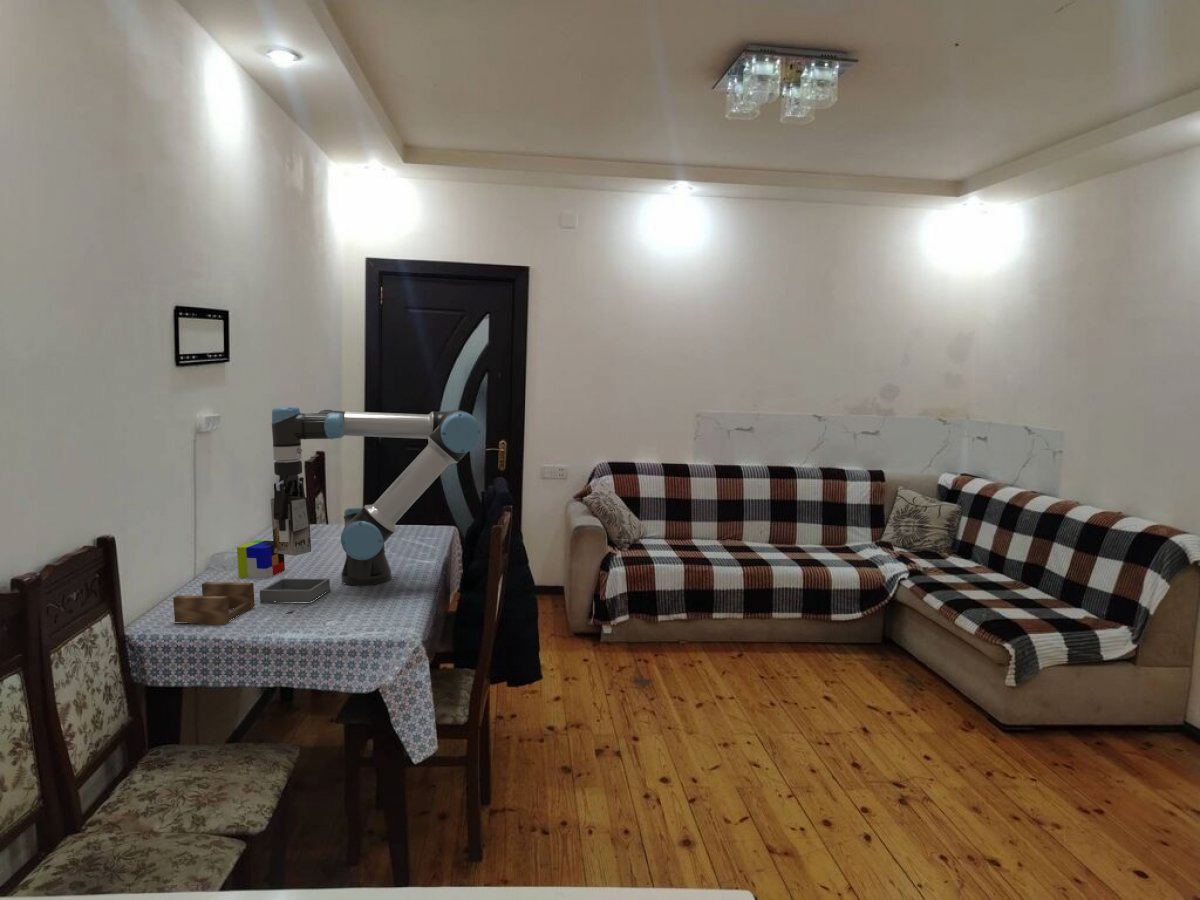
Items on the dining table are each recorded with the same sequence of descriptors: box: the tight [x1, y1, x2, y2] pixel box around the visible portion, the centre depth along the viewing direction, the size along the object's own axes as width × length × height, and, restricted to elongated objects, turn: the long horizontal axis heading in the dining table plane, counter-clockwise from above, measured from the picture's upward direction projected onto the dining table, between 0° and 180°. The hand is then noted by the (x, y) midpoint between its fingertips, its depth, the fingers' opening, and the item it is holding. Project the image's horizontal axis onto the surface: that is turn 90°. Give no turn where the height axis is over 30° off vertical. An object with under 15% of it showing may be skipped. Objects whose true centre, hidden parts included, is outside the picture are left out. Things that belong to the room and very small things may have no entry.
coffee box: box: [270, 496, 312, 557], centre depth 235 cm, size 9×6×16 cm
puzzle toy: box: [236, 539, 286, 580], centre depth 263 cm, size 10×10×10 cm
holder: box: [172, 581, 256, 625], centre depth 220 cm, size 14×15×7 cm
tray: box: [259, 577, 331, 603], centre depth 237 cm, size 15×13×4 cm
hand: (291, 538), depth 235 cm, fingers closed on coffee box, 8 cm apart
